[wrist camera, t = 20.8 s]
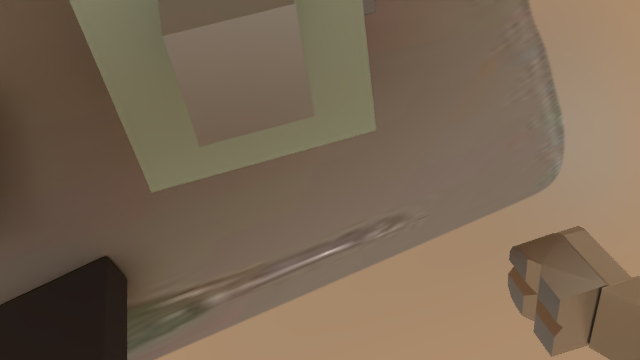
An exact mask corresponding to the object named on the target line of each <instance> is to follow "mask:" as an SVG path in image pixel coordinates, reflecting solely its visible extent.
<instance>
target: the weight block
mask: <svg viewBox="0 0 640 360" xmlns="http://www.w3.org/2000/svg"><path fill="white" fill-rule="evenodd" d="M158 4H159V12H160V21H161V29H162V37H163V40H164V43H165V46H166V49H167V52H168V55H169V58H170V60H171V63H172V66H173V69H174V72H175V75H176V78H177V81H178V84H179V87H180V90H181V93H182V96H183V99H184V102H185V105H186V108H187V111H188V114H189V117H190V120H191V123H192V126H193V129H194V132H195V134H196V137H197V140H198V143H199V146H200V147H202V146H206V145H209V144H213V143H217V142H221V141H224V140H228V139H232V138H235V137H239V136H243V135H247V134H250V133H254V132H258V131H261V130H265V129H269V128H273V127H276V126H280V125H284V124H287V123H291V122H295V121H298V120H302V119H306V118H310V117H313V116H315V113H314V108H313V102H312V97H311V91H310V86H309V80H308V75H307V69H306V63H305V58H304V52H303V47H302V41H301V36H300V30H299V25H298V19H297V13H296V8H295V3H294V2H293V0H158Z"/></svg>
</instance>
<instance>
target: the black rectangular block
mask: <svg viewBox="0 0 640 360" xmlns="http://www.w3.org/2000/svg"><path fill="white" fill-rule="evenodd" d="M0 360H127V279H126V278H125V277H124V276H123V275H122V274H121V272H120V271H119V270H118V269H117V268H116V267H115V266H114V265H113V264H112V263H111V262H110V261H109V260H108V259H107V258H106V257H103V258H101V259H98V260H96V261H94V262H92V263H90V264H88V265H86V266H84V267H81V268H79V269H77V270H75V271H73V272H71V273H69V274H67V275H64V276H62V277H60V278H58V279H56V280H54V281H52V282H50V283H47V284H45V285H43V286H41V287H39V288H37V289H35V290H33V291H30V292H28V293H26V294H24V295H22V296H20V297H18V298H16V299H14V300H11V301H9V302H7V303H5V304H3V305H1V306H0Z"/></svg>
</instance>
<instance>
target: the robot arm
mask: <svg viewBox="0 0 640 360" xmlns="http://www.w3.org/2000/svg"><path fill="white" fill-rule="evenodd" d="M509 260H510V261H511V263H512V264H513V265H514V267H513V268H512V270H511V271H510V273H509V274H508V287H509V291H510V294H511V298H512V300H513V301H514V303H515V306H516V307H517V309H518V310H519V312H520V313H521V315H522V316H524V317H526V318H528V319H531V320H533V321H535V322H534V333H535V335H536V336H537V337H538V339H539V340H540V341H541V343H542V344H543V346H544V347H545V349H546V350H547V351H548V352H549V354H550V355H551V356H555V355H558V354H562V353H565V352H568V351H571V350H574V349H578V348H581V347H584V346H587V345H589V347H590V348H591V349H593V350H595V351H596V352H598V353H600V354H601V355H603V356H605V357H607V358H608V359H610V360H640V276H636V277H633V278H632V277H631V276H630V275H629V274H628V273H627V272H626V271H625V270H624V269H623V268H622V267H621V266H620V265H619V264H618V263H617V262H616V261H615V260H614V259H613V258H612V257H611V256H610V255H609V254H608V253H607V252H606V251H605V250H604V249H603V248H602V247H601V246H600V244H599V243H598V242H597V241H596V240H595V239H594V238H593V237H592V236H591V235H590V234H589V233H588V232H587V231H586V230H585V229H584V228H582V227H580V226H576V227H573V228H570V229H567V230H564V231H561V232H558V233H553V234H550V235H547V236H544V237H541V238H538V239H535V240H532V241H529V242H526V243H523V244H520V245H517V246H514V247H513V248H512V249H511V251H510V258H509Z"/></svg>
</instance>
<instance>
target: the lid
mask: <svg viewBox="0 0 640 360" xmlns="http://www.w3.org/2000/svg"><path fill="white" fill-rule="evenodd" d="M69 1H70V3H71V6H72V8H73V10H74V13H75V15H76V17H77V20H78V22H79V24H80V27H81V29H82V31H83V34H84V36H85V38H86V41H87V43H88V45H89V48H90V50H91V52H92V55H93V57H94V59H95V62H96V64H97V66H98V69H99V71H100V73H101V76H102V78H103V80H104V83H105V85H106V87H107V90H108V92H109V94H110V97H111V99H112V101H113V104H114V106H115V108H116V111H117V113H118V115H119V118H120V120H121V122H122V125H123V127H124V129H125V132H126V134H127V136H128V139H129V141H130V143H131V146H132V148H133V150H134V153H135V155H136V157H137V160H138V162H139V164H140V167H141V169H142V171H143V174H144V176H145V178H146V181H147V183H148V185H149V188H150V190H151V192H155V191H159V190H163V189H166V188H170V187H174V186H177V185H181V184H184V183H188V182H192V181H195V180H199V179H202V178H206V177H210V176H213V175H217V174H221V173H224V172H228V171H231V170H235V169H239V168H242V167H246V166H249V165H253V164H257V163H260V162H264V161H268V160H271V159H275V158H278V157H282V156H286V155H289V154H293V153H296V152H300V151H304V150H307V149H311V148H315V147H318V146H322V145H325V144H329V143H333V142H336V141H340V140H343V139H347V138H351V137H354V136H358V135H362V134H365V133H369V132H372V131H376V123H375V113H374V104H373V94H372V85H371V76H370V66H369V57H368V48H367V38H366V29H365V20H364V15H368V14H372V13H376V8H375V0H293V2H294V3H295V8H296V13H297V19H298V25H299V30H300V36H301V41H302V47H303V52H304V58H305V63H306V69H307V75H308V80H309V86H310V91H311V97H312V102H313V108H314V113H315V116H313V117H310V118H306V119H302V120H298V121H295V122H291V123H287V124H284V125H280V126H276V127H273V128H269V129H265V130H261V131H258V132H254V133H250V134H247V135H243V136H239V137H235V138H232V139H228V140H224V141H221V142H217V143H213V144H209V145H206V146H202V147H200V146H199V143H198V140H197V137H196V134H195V132H194V129H193V126H192V123H191V120H190V117H189V114H188V111H187V108H186V105H185V102H184V99H183V96H182V93H181V90H180V87H179V84H178V81H177V78H176V75H175V72H174V69H173V66H172V63H171V60H170V58H169V55H168V52H167V49H166V46H165V43H164V40H163V37H162V29H161V21H160V12H159V4H158V0H69Z"/></svg>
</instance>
